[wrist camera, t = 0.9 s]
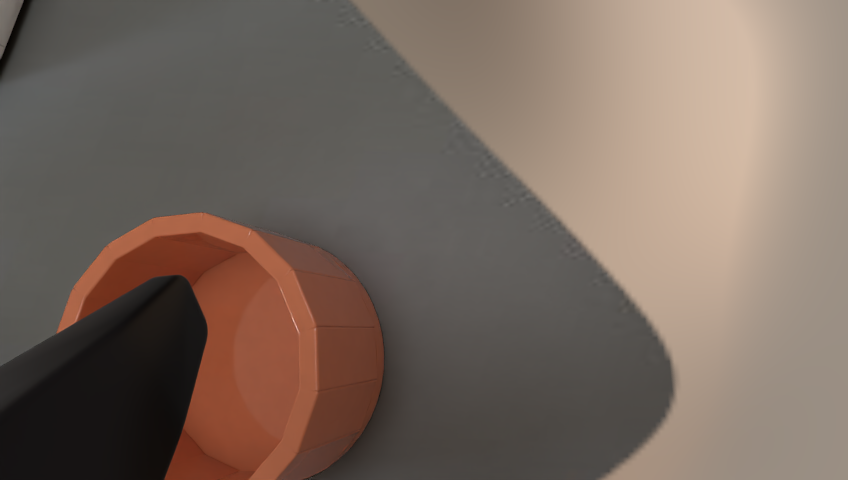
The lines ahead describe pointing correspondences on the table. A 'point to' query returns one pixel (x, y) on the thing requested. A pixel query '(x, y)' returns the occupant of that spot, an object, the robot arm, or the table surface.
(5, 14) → the white rounded block
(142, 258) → the cup
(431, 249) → the table surface
